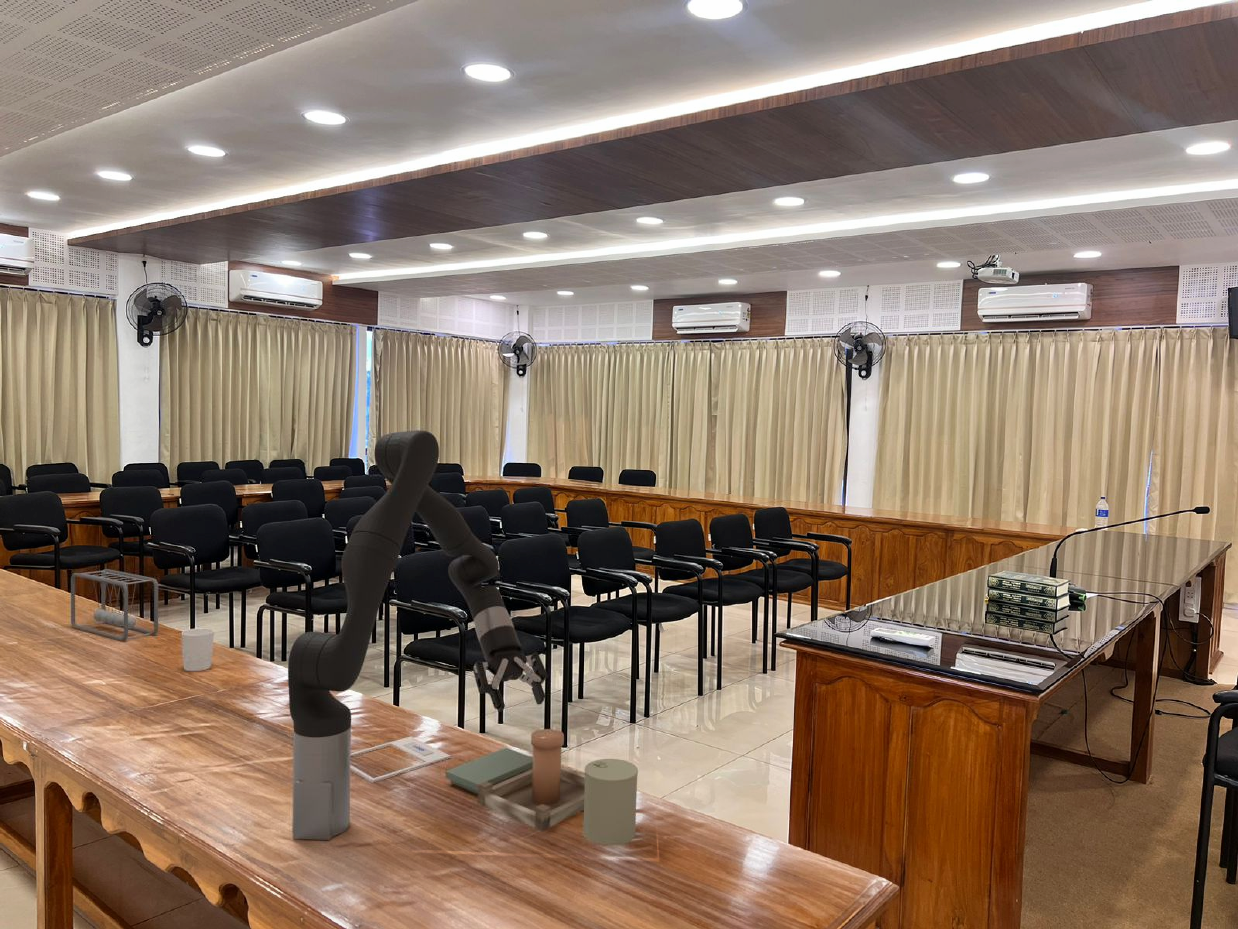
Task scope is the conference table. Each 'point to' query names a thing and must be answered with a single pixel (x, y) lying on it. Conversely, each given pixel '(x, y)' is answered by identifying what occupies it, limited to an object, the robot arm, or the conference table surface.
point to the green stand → (490, 769)
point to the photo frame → (408, 746)
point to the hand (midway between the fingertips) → (521, 706)
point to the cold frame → (518, 803)
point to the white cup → (197, 649)
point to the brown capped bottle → (546, 766)
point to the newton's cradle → (116, 618)
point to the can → (610, 802)
